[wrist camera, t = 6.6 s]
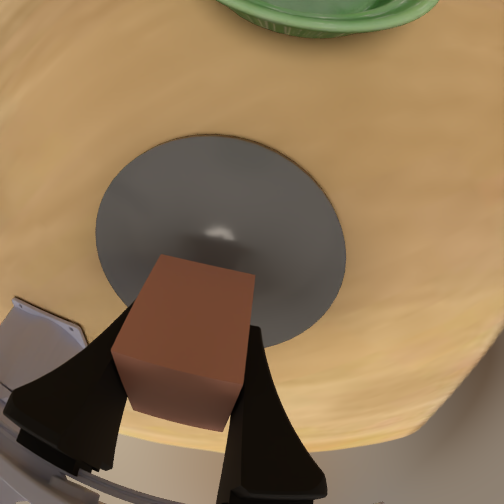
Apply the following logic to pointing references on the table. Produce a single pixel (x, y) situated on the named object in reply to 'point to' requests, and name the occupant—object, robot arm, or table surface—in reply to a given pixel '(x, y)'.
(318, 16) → the ramekin
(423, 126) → the table surface
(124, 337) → the block
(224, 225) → the plate
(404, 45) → the table surface
